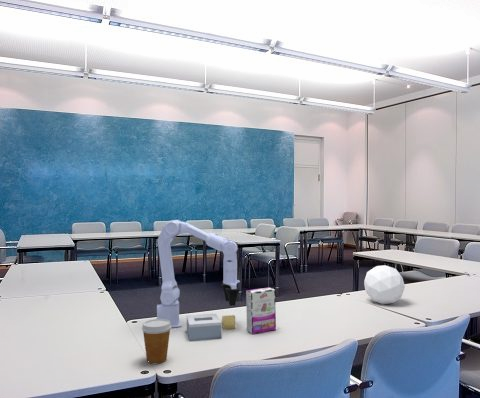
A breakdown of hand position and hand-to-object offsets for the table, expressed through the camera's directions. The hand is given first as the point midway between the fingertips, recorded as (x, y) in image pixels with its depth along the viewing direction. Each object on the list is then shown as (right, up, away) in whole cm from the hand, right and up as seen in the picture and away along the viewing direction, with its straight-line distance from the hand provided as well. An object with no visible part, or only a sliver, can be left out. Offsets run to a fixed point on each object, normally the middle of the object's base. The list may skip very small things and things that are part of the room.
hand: (230, 303), depth 160 cm
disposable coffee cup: (-23, -9, -35) cm, 43 cm away
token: (-1, -10, -3) cm, 10 cm away
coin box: (-10, -9, -10) cm, 17 cm away
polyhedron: (+78, -10, +37) cm, 86 cm away
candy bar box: (+12, -10, -6) cm, 17 cm away
